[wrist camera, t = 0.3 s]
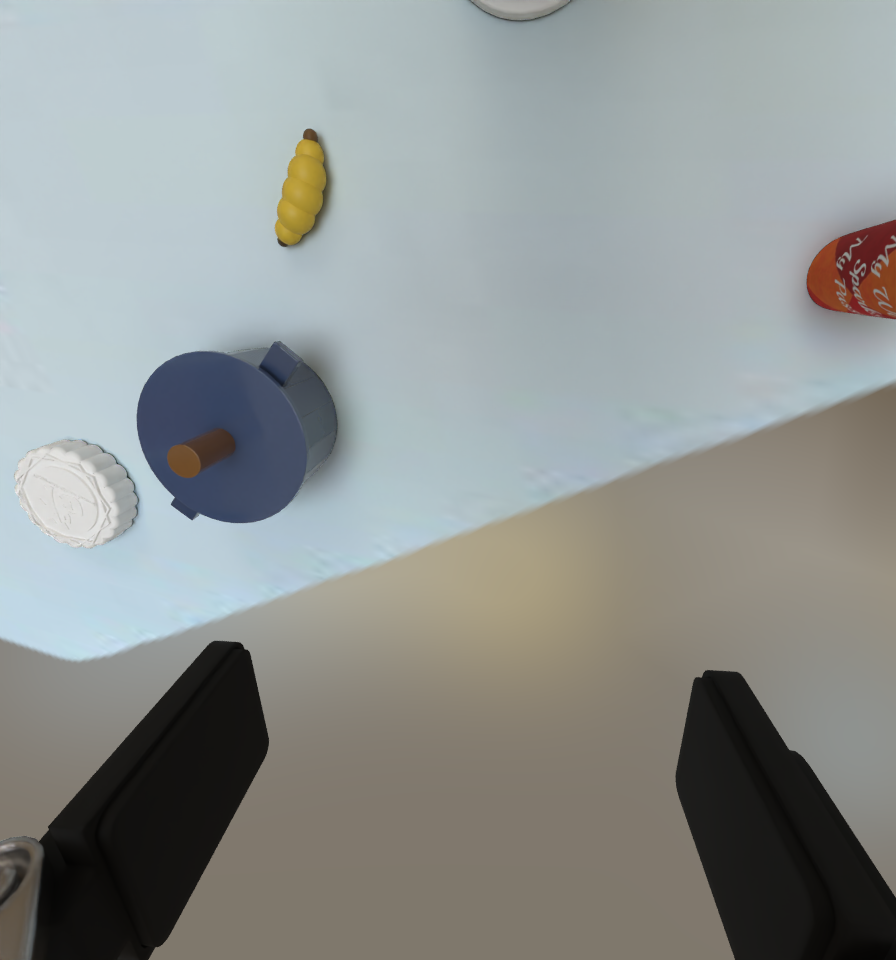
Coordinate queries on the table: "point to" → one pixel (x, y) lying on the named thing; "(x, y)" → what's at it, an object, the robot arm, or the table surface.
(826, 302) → the paper cup
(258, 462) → the lid
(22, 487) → the mooncake
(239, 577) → the table surface
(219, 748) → the robot arm
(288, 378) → the pot
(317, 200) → the yellow segmented pod
